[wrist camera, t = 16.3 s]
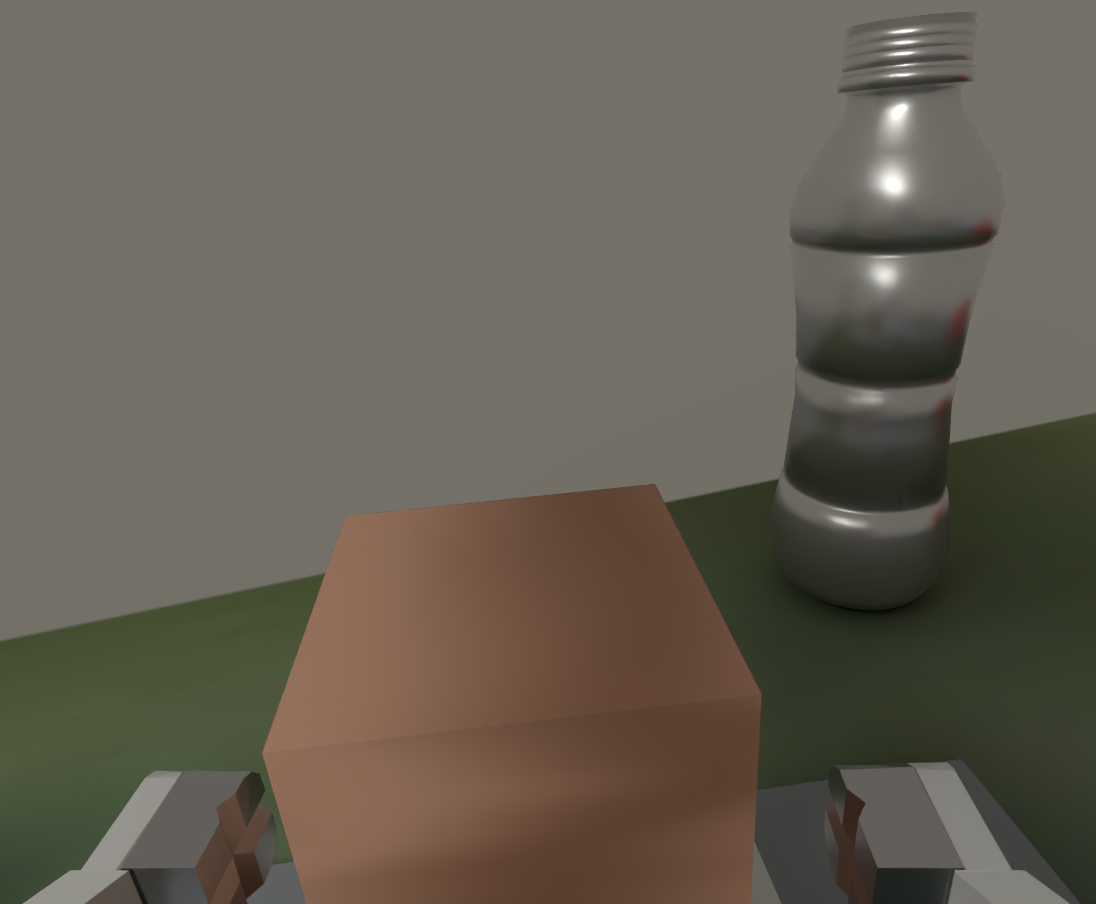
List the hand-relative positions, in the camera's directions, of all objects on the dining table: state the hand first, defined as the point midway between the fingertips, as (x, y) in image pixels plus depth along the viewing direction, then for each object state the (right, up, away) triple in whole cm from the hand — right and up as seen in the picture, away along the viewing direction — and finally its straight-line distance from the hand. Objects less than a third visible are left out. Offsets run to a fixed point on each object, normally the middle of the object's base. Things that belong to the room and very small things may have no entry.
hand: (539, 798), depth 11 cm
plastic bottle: (+12, -1, +20) cm, 23 cm away
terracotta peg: (+1, -8, +3) cm, 8 cm away
